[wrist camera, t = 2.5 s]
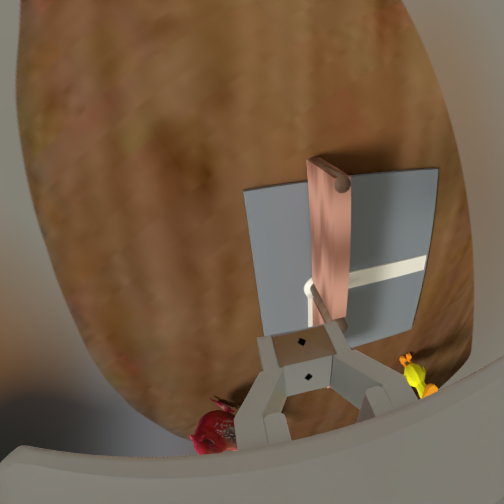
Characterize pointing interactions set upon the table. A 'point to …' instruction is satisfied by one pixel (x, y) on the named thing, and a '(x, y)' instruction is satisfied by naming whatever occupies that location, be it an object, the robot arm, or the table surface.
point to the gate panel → (330, 233)
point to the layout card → (361, 252)
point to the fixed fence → (324, 312)
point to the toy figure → (417, 377)
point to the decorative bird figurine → (215, 432)
